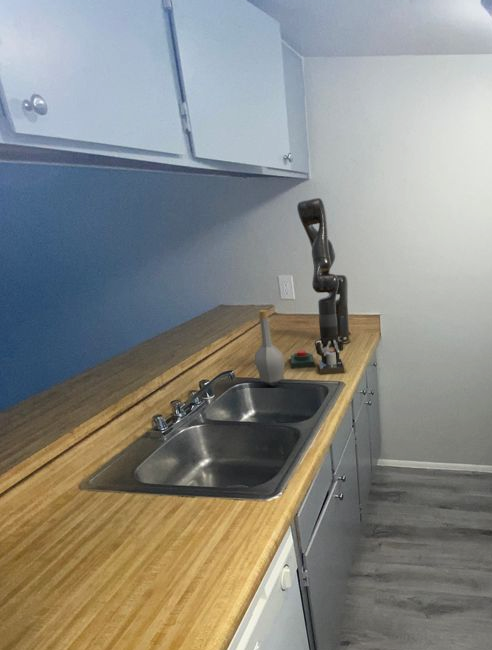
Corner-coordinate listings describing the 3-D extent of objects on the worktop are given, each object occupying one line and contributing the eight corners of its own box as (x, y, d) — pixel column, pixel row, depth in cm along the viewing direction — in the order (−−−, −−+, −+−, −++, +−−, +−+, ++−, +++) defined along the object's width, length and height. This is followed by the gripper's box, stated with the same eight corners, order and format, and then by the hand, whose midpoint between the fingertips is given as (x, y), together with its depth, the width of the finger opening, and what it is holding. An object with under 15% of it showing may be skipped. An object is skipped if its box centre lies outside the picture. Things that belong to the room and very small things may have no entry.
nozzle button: (297, 354, 215) (296, 350, 214) (306, 353, 216) (305, 350, 215) (297, 357, 212) (297, 353, 211) (306, 356, 212) (306, 352, 212)
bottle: (292, 382, 193) (283, 308, 179) (279, 392, 184) (269, 315, 169) (266, 380, 195) (256, 306, 181) (253, 390, 186) (241, 313, 172)
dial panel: (318, 365, 213) (318, 359, 211) (341, 363, 215) (340, 358, 213) (321, 374, 202) (320, 368, 201) (344, 372, 204) (343, 366, 203)
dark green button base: (291, 359, 219) (290, 351, 218) (312, 358, 222) (312, 350, 220) (291, 368, 209) (290, 359, 207) (314, 366, 211) (313, 357, 209)
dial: (330, 366, 204) (329, 354, 202) (323, 363, 207) (322, 351, 205) (338, 363, 207) (337, 351, 205) (331, 361, 210) (330, 349, 208)
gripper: (336, 319, 206) (339, 357, 214) (308, 325, 197) (312, 363, 205) (347, 322, 201) (349, 360, 209) (319, 328, 192) (322, 368, 200)
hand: (330, 362), depth 207 cm, fingers open, 5 cm apart
